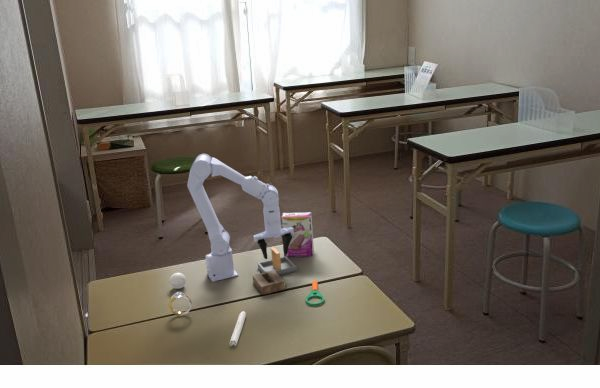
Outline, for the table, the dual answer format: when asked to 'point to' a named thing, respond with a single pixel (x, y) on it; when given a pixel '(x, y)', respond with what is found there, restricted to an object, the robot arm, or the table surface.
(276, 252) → the tan wooden plank
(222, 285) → the table surface
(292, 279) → the table surface
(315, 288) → the magnifying glass
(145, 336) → the table surface
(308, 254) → the candy bar box
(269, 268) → the tray
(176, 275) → the white egg
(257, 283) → the brown slotted block
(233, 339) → the marker
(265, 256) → the robot arm
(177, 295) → the ring
